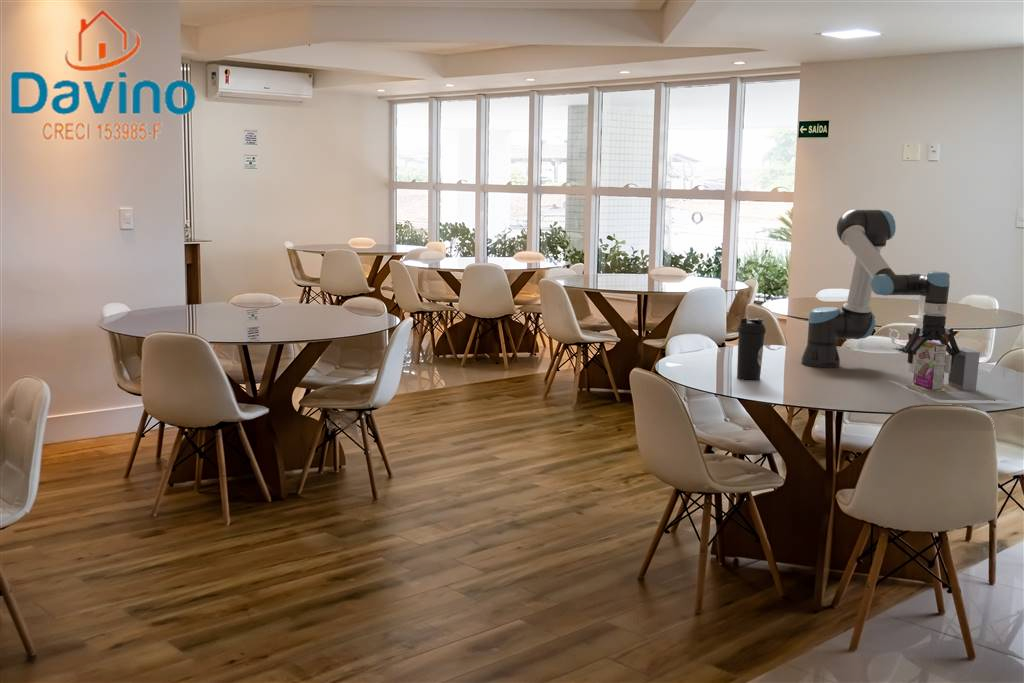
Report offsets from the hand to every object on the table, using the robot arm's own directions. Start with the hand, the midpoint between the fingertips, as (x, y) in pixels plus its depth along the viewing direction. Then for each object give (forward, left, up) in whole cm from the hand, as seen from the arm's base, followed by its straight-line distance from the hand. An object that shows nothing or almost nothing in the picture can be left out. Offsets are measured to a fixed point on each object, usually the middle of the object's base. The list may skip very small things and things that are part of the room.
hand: (929, 372), depth 362 cm
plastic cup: (+29, +63, -7) cm, 70 cm away
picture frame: (+6, 0, -7) cm, 9 cm away
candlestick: (+40, +88, -7) cm, 97 cm away
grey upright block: (+13, 0, -6) cm, 14 cm away
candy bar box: (0, 0, -6) cm, 6 cm away
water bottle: (-61, +19, -7) cm, 64 cm away
